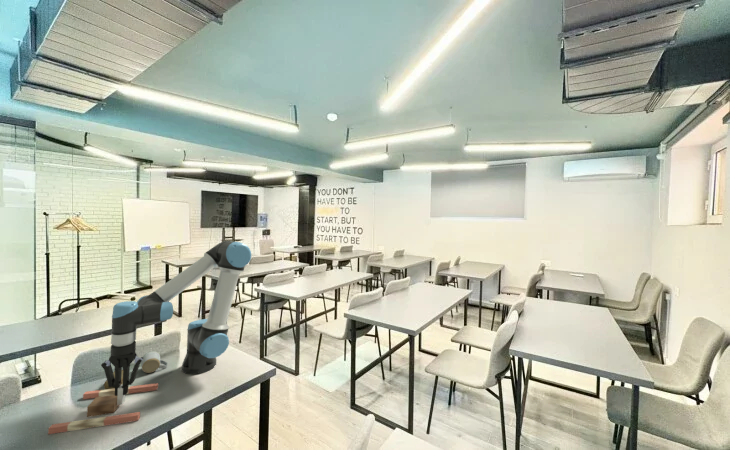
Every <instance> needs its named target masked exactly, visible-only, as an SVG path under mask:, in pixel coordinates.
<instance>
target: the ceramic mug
mask: <svg viewBox="0 0 730 450" xmlns="http://www.w3.org/2000/svg"><path fill="white" fill-rule="evenodd" d="M142 357H143V360H142V361H141V363H140V366H141V371H143V372H144V373H146V374H151V373H153V372H156V371H157V370H158V369H167V368H168V365H169V363H168V362H167V361H166V360H164V359H161V355H160V353H159V352H157V351H154V350H153V351H148V352H146V353H145V354H143V356H142Z"/></svg>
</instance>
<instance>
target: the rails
mask: <svg viewBox="0 0 730 450" xmlns="http://www.w3.org/2000/svg"><path fill="white" fill-rule="evenodd" d="M131 386H132V385H128V392H129V388H130V387H131ZM100 390H101V391H100V392H99V397H103V396H111V395H115V388H112V389H100ZM126 395H129V394H128V393H127V394H126ZM106 417H107V416H101V417H94V418H88V419H81V420H74V421H69V422H70V424H69V425H68V427H67V432H72V431H77V430H78V431H79V430H85V429H86V430H87V429H93V428H99V427H104V420H105V418H106Z"/></svg>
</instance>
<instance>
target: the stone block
mask: <svg viewBox="0 0 730 450" xmlns="http://www.w3.org/2000/svg"><path fill="white" fill-rule="evenodd" d="M113 374H114V378H115V370H114V371H113ZM121 382H122V383H121V384H120V385H123V369H122V374H121ZM103 385H104V386H103V387H104V389H112V388H114V387H109V386H108V382H107V379H106V380H105V381H104V384H103ZM104 389H103V390H104Z"/></svg>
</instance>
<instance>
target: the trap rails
mask: <svg viewBox="0 0 730 450" xmlns="http://www.w3.org/2000/svg"><path fill="white" fill-rule="evenodd" d="M130 386H131V387H130V388H129V392H128V394H127V395H129V394H137V393H138V394H139V393H145V392H152V391H158V389H159V382H156V383H149V384H147V383H146V384H139V385H130ZM101 390H102V389H98V390H89V391H85V392H84V393H83V394H82V400H89V399H95V398H96V397H99V392H100V391H101ZM105 417H106V418H105V420H104V426H105V427H106V426H110V425H111V426H113V425H118V424H124V423H131V422H132V423H133V422H138V421H139V419H140V418H141V412H140V411H136V412H129V413H122V414H121V413H120V414H116V415H114V414H113V415H109V416H108V415H107V416H105ZM70 422H71V421H67V422H61V423H60V422H59V423H53V424H51V425H50V426H49V427H48V428H47V429H48V430H47V431H48V432H47V434H48V435H52V434H59V433H66V432H68V431H67V427H68V425H69V424H70ZM104 426H103V427H104Z"/></svg>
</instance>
